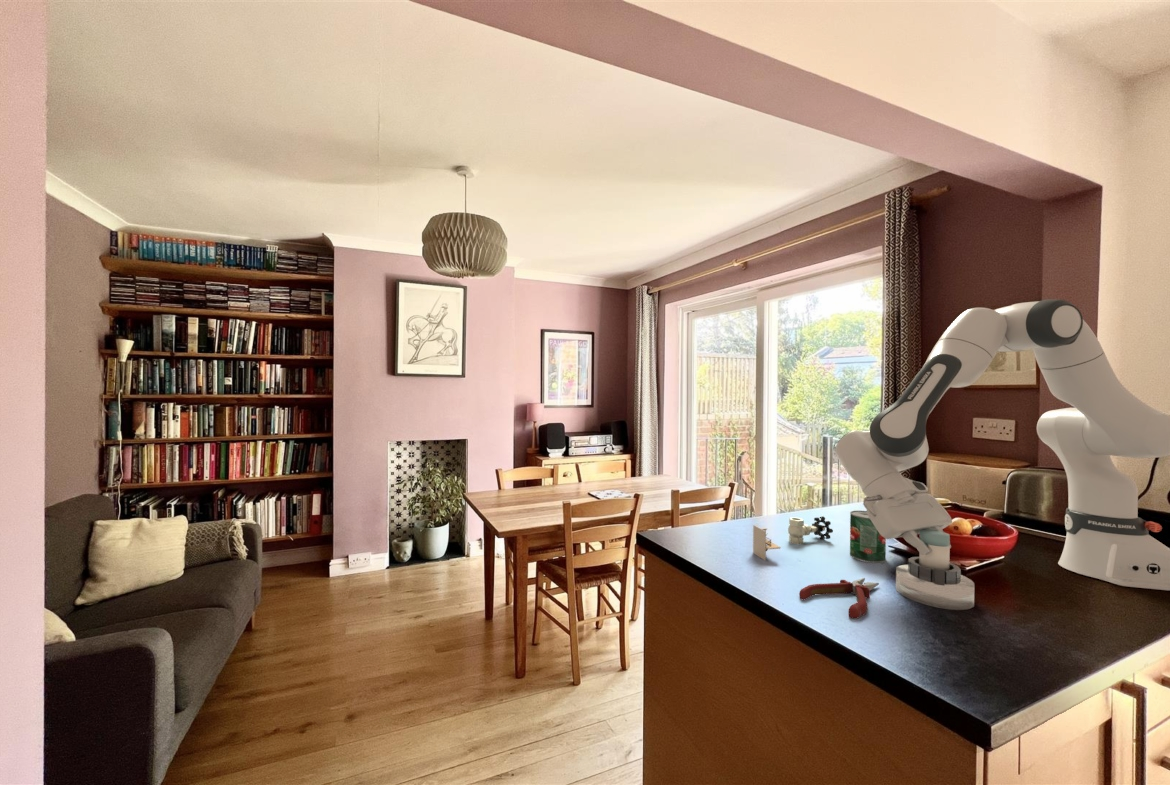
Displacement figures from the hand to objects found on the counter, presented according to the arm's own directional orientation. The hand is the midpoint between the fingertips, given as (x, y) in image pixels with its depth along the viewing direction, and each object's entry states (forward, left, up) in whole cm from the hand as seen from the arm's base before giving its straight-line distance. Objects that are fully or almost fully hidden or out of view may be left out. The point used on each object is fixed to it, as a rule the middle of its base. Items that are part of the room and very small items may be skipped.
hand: (937, 551), depth 96 cm
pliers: (+15, +10, -10) cm, 21 cm away
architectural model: (+35, -8, -10) cm, 37 cm away
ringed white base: (0, -2, -9) cm, 9 cm away
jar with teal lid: (0, 0, -4) cm, 4 cm away
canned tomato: (+10, -20, -10) cm, 25 cm away
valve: (+25, -28, -10) cm, 38 cm away
